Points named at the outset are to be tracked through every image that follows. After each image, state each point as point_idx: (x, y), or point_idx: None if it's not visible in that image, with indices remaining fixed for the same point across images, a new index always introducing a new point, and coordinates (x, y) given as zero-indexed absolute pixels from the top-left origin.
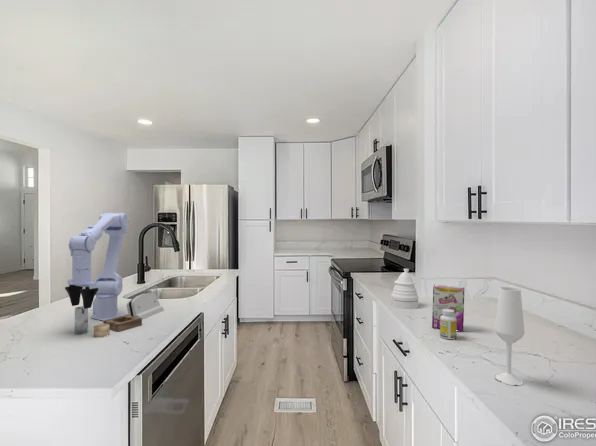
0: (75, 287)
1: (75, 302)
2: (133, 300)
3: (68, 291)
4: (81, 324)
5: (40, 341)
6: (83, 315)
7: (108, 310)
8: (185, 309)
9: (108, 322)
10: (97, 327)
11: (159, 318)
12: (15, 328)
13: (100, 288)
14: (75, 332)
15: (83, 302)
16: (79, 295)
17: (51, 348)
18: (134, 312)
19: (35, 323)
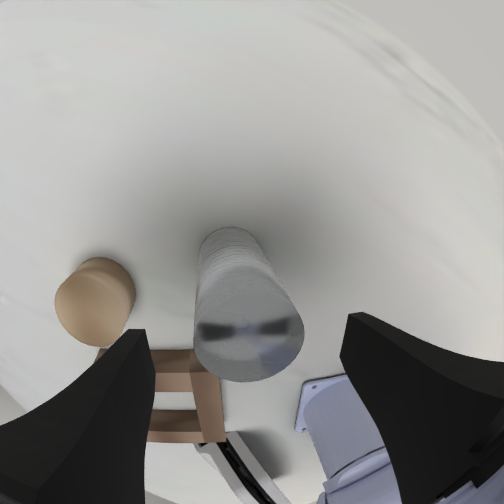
0: (447, 469)
1: (358, 350)
2: (244, 497)
3: (478, 376)
4: (200, 264)
5: (265, 73)
6: (195, 303)
7: (320, 425)
8: (198, 500)
9: (171, 371)
10: (66, 283)
11: (165, 462)
12: (488, 153)
13: (397, 486)
14: (229, 229)
15: (110, 362)
16: (379, 421)
17: (110, 63)
18: (217, 459)
19: (486, 218)
